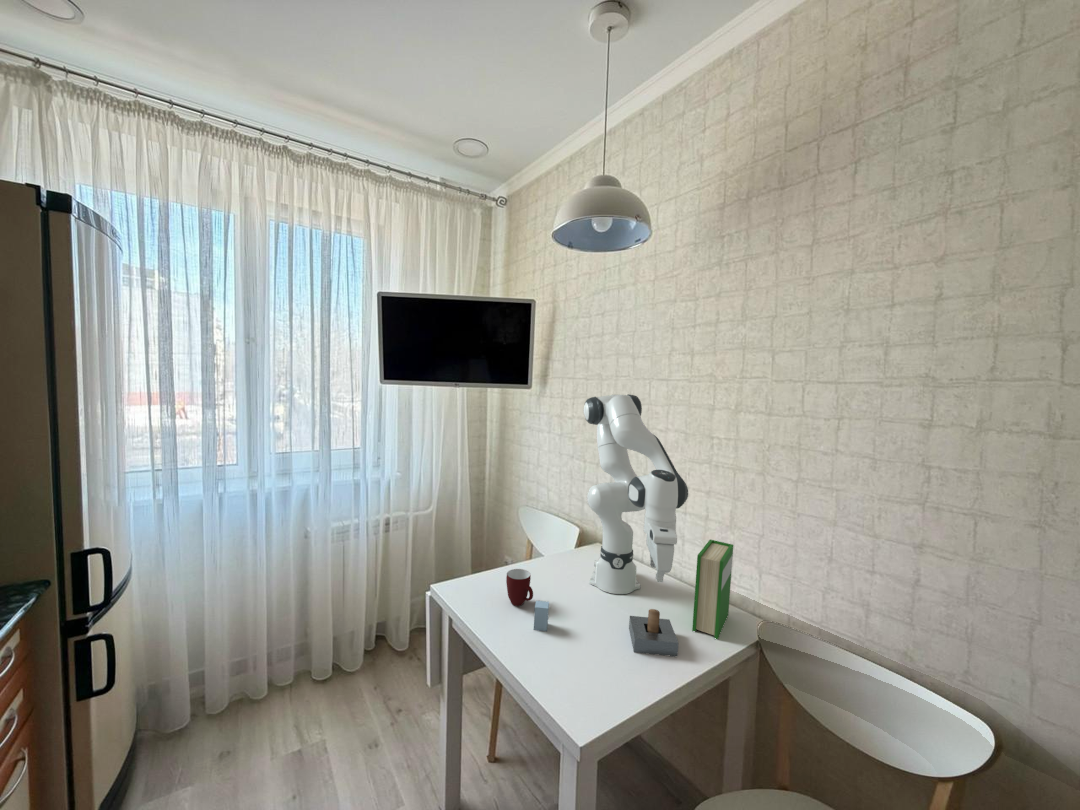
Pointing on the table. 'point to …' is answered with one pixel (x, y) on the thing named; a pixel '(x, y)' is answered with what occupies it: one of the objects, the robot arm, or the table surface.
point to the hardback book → (712, 587)
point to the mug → (518, 586)
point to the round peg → (653, 621)
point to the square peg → (541, 615)
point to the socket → (653, 637)
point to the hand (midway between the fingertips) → (656, 573)
